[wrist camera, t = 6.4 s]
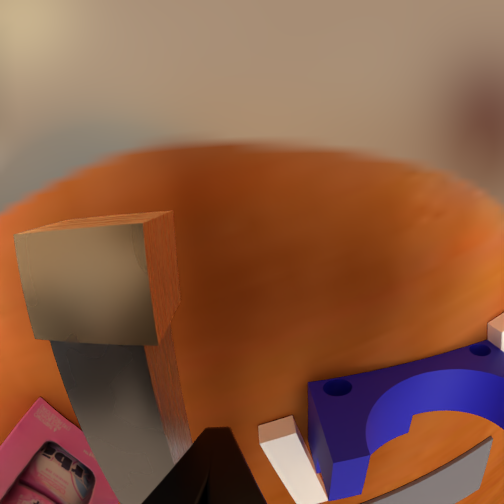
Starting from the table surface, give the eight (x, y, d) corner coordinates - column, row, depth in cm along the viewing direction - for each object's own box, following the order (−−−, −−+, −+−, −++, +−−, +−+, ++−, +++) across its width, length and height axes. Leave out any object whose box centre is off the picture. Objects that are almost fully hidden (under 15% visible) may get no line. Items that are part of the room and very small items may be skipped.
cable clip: (307, 437, 17) (326, 515, 11) (307, 380, 16) (332, 463, 10) (471, 393, 17) (516, 442, 11) (485, 338, 16) (543, 382, 10)
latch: (204, 197, 12) (124, 230, 4) (235, 500, 16) (235, 611, 8) (140, 202, 12) (-15, 243, 4) (196, 499, 16) (184, 608, 8)
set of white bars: (501, 395, 17) (512, 405, 15) (212, 509, 18) (211, 524, 17) (508, 309, 15) (522, 317, 14) (157, 447, 16) (152, 464, 15)
